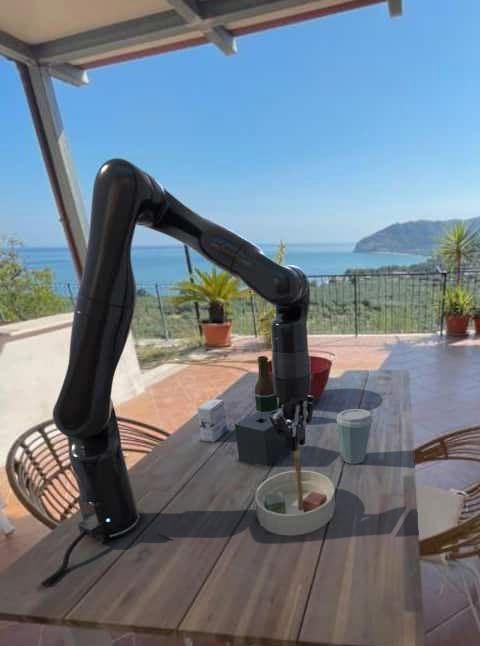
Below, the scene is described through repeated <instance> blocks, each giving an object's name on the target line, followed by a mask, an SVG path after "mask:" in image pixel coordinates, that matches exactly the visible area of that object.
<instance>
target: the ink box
mask: <svg viewBox="0 0 480 646" xmlns="http://www.w3.org/2000/svg"><path fill="white" fill-rule="evenodd" d="M225 407H226V406H225V400H224V399H215V398H210V399H209V400H208V401H205V403H203V404H201V405H200V406H198V407H197V415H198V422H199V431H200V437H201V441H204V442H213V443H215V442H216V441H217V440H219V439H220V438H221V437H222V436H223V435H225V434H226V433H227V432H228V424H227V417H226V409H225Z"/></svg>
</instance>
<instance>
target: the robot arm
mask: <svg viewBox="0 0 480 646" xmlns="http://www.w3.org/2000/svg"><path fill="white" fill-rule="evenodd" d="M90 210H91V211H90V222H89V223H90V224H89V233H88V234H89V235H88V241H87V245H86V246H87V247H86V251H85V257H84V263H83V269H82V274H81V279H80V283H79V287H78V291H77V296H76V299H75V300H76V301H75V305H74V311H73V316H72V317H73V319H72V325H71V330H70V331H71V332H70V341H69V353H68V354H69V357H68V363H67V369H66V372H65V376H64V379H63V381H62V382H63V383H62V386H61V389H60V391H59V394H58V397H57V399H56V401H55V404H54V405H53V408H52V420H53V423H54V425H55V427H56V428H57V430H58V431H59V432H60V433H61V434H63V436H64V437H66V438H67V446H68V459H69V462H70V466H71V468H72V471H73V474H74V478H75V481H76V485H77V488H78V491H79V496H77V498H76V500H77V504H78V507H79V509H80V513H81V517H82V521H80V522H78V523H77V527H78V531H79V532H80V533H79V535H78V536H76V538H75V539H74V540H73V541H72V542H71V543H70V545H69V546H68V547H67V549H66V551H65V553H64V555H63V560H62V563H61V565H60V567H59V568H58V569H57V570H56V571H55V572H53V574H51V575H50V576H48V577H47V578H45V579H44V580H42V581H41V582H40V583H41V586H43V587H46V586H47V585H49V583H51V582H53V581H54V580H55V579H57V578H59V576H60V575H62V574H63V572H64V571H65V570H66V569H67V567H68V564H69V562H70V561H69V560H70V557H71V554H72V552H73V551H74V549H75V548H76V546H77V545H78V544H79V543H80V541H81V540H82V539H83V538H84V537H86V536H87V537H89V538H91V539H93V540H94V539H96V540H97V539H98V540H99V541H102V542H104V543H105V542H107V541H109V540H111V539H115V538H119V537H122V536H123V535H126V534H128V533H130V532H131V531H132V530H134V529H135V528H137V526H138V524H139V523H140V519H141V517H140V513H139V511H138V508H137V503H136V499H135V496H134V492H133V491H134V490H133V487H132V483H131V479H130V475H129V471H128V468H127V463H126V459H125V454H124V451H123V447H122V446H123V445H122V439H121V438H122V437H121V432H120V428H119V423H118V419H117V415H116V410H115V406H114V402H113V400H112V389H113V383H114V378H115V375H116V374H115V373H116V370H117V368H118V365H119V364H120V363H119V362H120V360H121V357H122V356H123V352H124V350H125V347H126V344H127V341H128V340H129V339H128V338H129V335H130V333H131V328H132V326H133V321H134V318H135V313H136V308H137V304H138V290H137V289H138V288H137V283H136V279H135V273H134V270H133V264H132V246H133V245H132V244H133V239H134V235H135V230H136V227H137V226H139V227H140V226H141V227H144V228H147V229H151V230H152V231H156V232H158V233H161V234H163V235H166V236H168V237H170V238H173V239H174V240H176V241H178V242H181V243H182V244H184V245H185V246H186V247H188V248H190V249H191V250H192V251H193V252H194V253H196V254H197V255H199V256H200V257H202V258H203V259H204V260H205V261H207V262H208V263H210V264H212V265H213V266H215V267H216V268H218V269H219V270H221V271H223V272H225V273H227V274H228V275H229V276H231V277H233V278H235V279H237V280H239V281H240V282H242V283H243V284H244V285H245V286H246V287H247V288H248V289H250V290H251V291H252V292H253V293H254V294H256V295H257V296H258V297H259V298H261V299H262V300H263V301H265V302H267V303H269V304H271V305H273V306H275V316H274V319H273V320H272V321H271V324H270V342H271V360H272V373H273V385H274V393H275V394H276V395H277V397H278V398H279V399H278V398H277V399H278V402H277V404H278V411H277V412H276V413H275V414H271V415H270V417H269V418H270V420H271V422H272V424H273V426H274V428H275V430H276V432H277V434H278V435H280V436H285V437H286V448H287V450H289V452H293V453H294V452H295V451H296V450H297V440H296V425H298V424H299V425H303V426H304V438H303V439H302V440H301V441H299V446H304V445H305V444H306V429H307V427H308V425H307V424H310V423H311V422H312V418H313V413H314V408H315V403H316V400H315V397H314V396H308V394H309V393H310V392H311V374H310V358H309V356H310V353H309V340H308V337H309V336H308V326H307V324H308V317H309V309H310V307H309V306H310V298H311V297H310V296H311V295H310V292H311V290H310V281H309V279H308V276H307V274H306V272H305V271H304V270H303V269H302V268H300V267H299V266H296V265H292V264H286V265H282V264H280V263H278V262H276V261H274V260H272V258H269V257H268V256H266V255H265V254H264V252H263V250H262V249H261V248H260V247H259V246H258V245H256V244H254V243H253V242H251V241H250V240H248V239H246V238H245V237H243V236H241V235H239V234H237V233H236V232H235V231H233V230H231V229H229V228H227V227H225V226H224V225H221V224H219V223H218V222H215V221H213V220H211V219H209V218H206V217H204V216H202V215H201V214H199V213H197V212H196V211H194V210H192V209H191V208H189V207H188V206H186V205H185V204H184V203H183V202H181V201H180V200H179V199H177V198H176V196H174V195H173V194H172V193H171V192H169V190H167V189H166V188H165V187H163V186H162V184H161V183H160V182H158V181H157V179H156V178H154V177H153V176H152V175H150V174H149V173H147V172H146V171H144V170H143V169H142V168H140V167H138V166H137V165H135V164H134V163H132V162H131V161H129V160H127V159H124V158H119V157H115V158H111V159H107V160H106V161H105V162H103V164H102V165H101V166H100V167H99V169H98V171H97V173H96V175H95V178H94V182H93V188H92V198H91V209H90ZM289 426H291V430H289V428H288V427H289Z"/></svg>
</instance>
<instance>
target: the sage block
mask: <svg viewBox="0 0 480 646" xmlns="http://www.w3.org/2000/svg"><path fill="white" fill-rule="evenodd" d="M265 503H266V509H267V510H269V511H272V512H275V513H279V514H286V507H285V500H284V497H283V494H282V492H279V493H274V494H269V495H265Z"/></svg>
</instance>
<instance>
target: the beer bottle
mask: <svg viewBox="0 0 480 646" xmlns="http://www.w3.org/2000/svg"><path fill="white" fill-rule="evenodd" d="M256 361H257V362H258V363H257V364H258V366H257V367H258V379H257V382H256V384H255V386H254V399H255V409H256V412H258V411H260V412H264V413H269V414H275V413H276V412H277V411H278V398H277V395H276V394H275V393H274V385H273V381H272V379H271V378H270V374H269V368H268V361H269V357H268V356H266V355H261V356H258V357H257V359H256Z"/></svg>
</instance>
